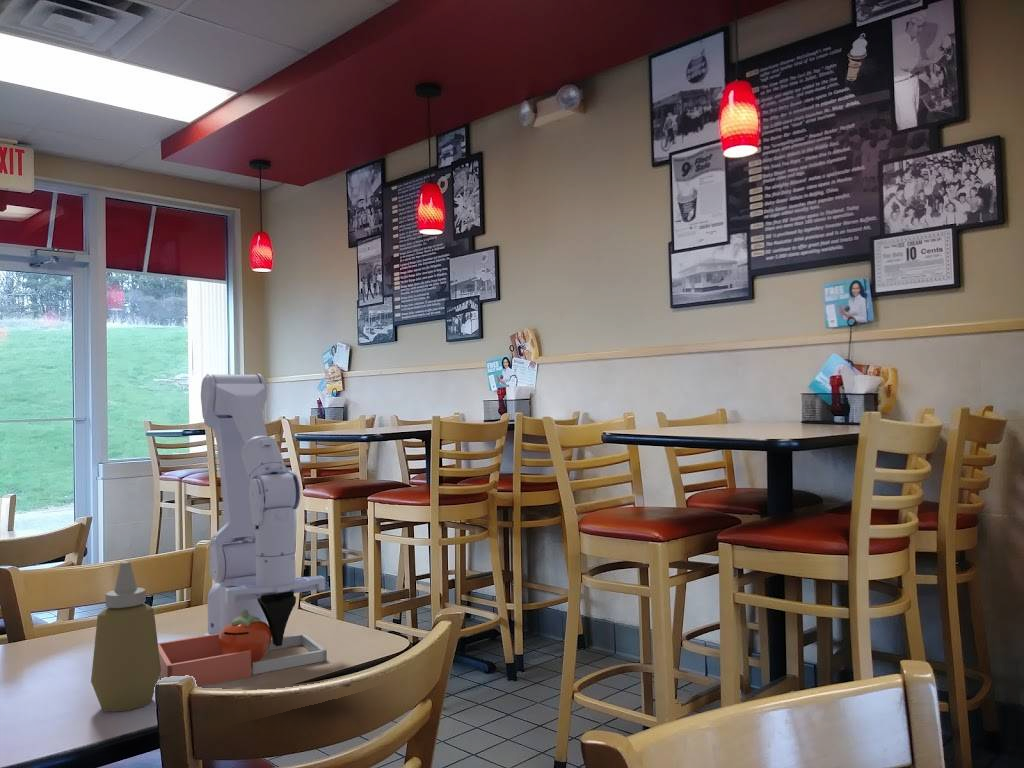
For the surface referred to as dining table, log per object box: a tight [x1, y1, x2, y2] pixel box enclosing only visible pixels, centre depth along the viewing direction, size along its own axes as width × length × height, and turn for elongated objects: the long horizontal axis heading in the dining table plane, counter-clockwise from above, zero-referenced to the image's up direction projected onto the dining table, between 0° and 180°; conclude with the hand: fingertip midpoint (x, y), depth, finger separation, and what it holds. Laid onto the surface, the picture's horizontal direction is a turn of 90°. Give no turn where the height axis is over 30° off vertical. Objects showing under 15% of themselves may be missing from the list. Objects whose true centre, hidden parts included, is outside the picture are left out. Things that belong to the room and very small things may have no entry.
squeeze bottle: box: [90, 561, 161, 712], centre depth 102 cm, size 8×8×18 cm
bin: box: [158, 633, 252, 687], centre depth 114 cm, size 11×13×4 cm
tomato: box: [219, 609, 272, 668], centre depth 117 cm, size 7×7×8 cm
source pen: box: [251, 633, 328, 675], centre depth 120 cm, size 11×11×2 cm
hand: (277, 644), depth 120 cm, fingers closed
